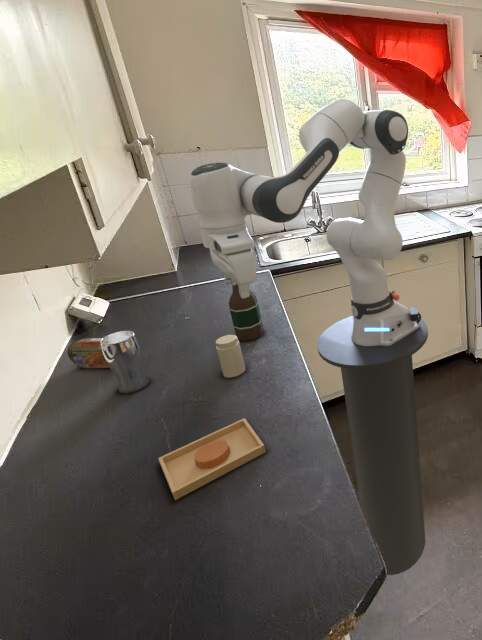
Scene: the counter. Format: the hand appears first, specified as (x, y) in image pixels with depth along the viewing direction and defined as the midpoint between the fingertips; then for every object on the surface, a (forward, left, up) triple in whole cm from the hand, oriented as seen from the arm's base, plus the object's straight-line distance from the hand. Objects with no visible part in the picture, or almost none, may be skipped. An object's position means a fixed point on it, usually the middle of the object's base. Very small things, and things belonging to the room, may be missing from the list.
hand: (238, 290), depth 101 cm
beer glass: (+22, -26, -29) cm, 45 cm away
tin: (+26, -44, -29) cm, 59 cm away
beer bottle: (-8, -32, -29) cm, 44 cm away
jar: (+2, -14, -29) cm, 32 cm away
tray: (+15, +17, -29) cm, 37 cm away
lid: (+15, +17, -27) cm, 35 cm away
